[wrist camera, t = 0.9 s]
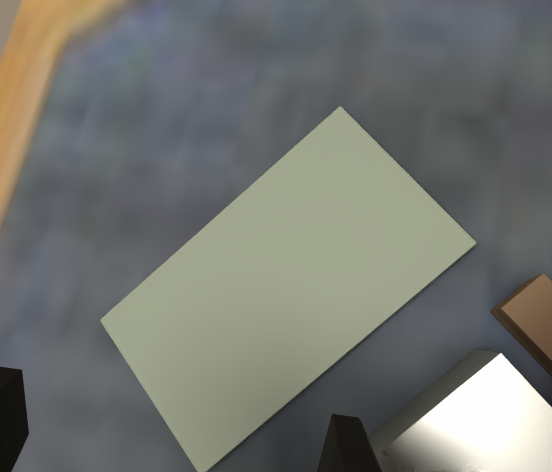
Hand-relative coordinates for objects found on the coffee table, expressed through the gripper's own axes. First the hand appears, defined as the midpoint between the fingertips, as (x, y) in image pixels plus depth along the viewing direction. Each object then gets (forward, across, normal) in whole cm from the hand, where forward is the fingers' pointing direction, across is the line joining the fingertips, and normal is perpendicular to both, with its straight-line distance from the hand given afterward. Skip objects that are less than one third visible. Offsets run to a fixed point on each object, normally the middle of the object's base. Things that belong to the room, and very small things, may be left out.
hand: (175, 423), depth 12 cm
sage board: (+12, -2, +4) cm, 13 cm away
